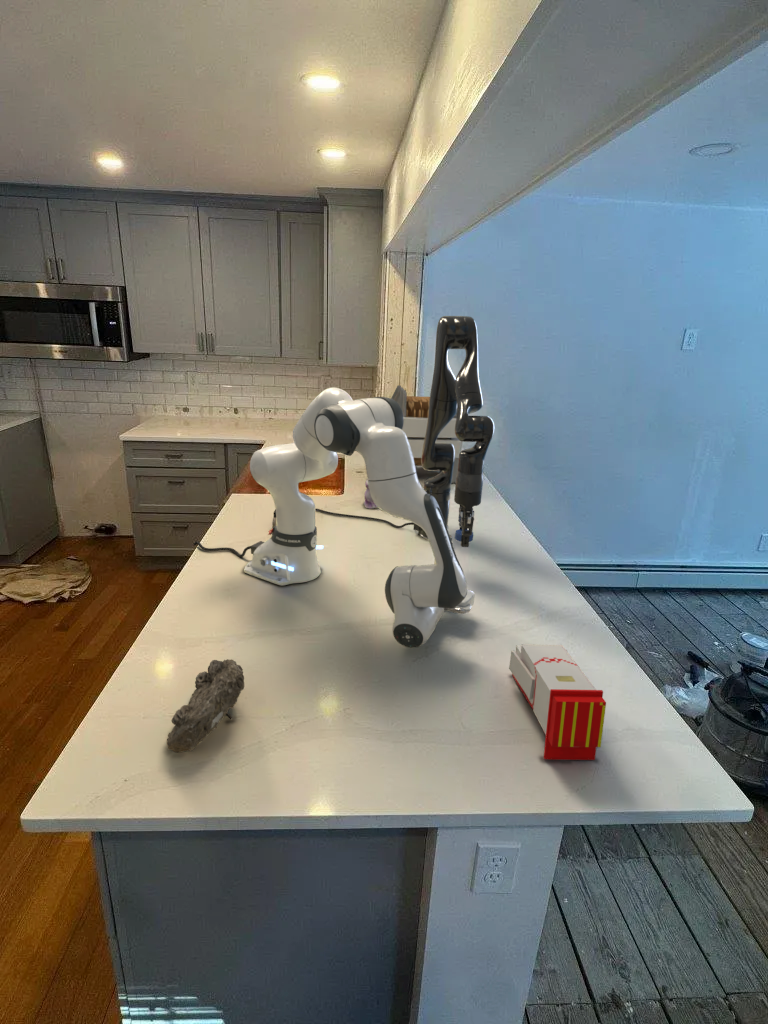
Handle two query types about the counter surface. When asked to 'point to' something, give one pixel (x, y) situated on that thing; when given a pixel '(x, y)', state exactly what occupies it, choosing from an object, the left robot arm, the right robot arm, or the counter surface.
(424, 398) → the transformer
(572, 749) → the toy
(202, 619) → the counter surface
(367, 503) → the figurine
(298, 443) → the left robot arm
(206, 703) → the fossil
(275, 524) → the figurine character
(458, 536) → the lid
